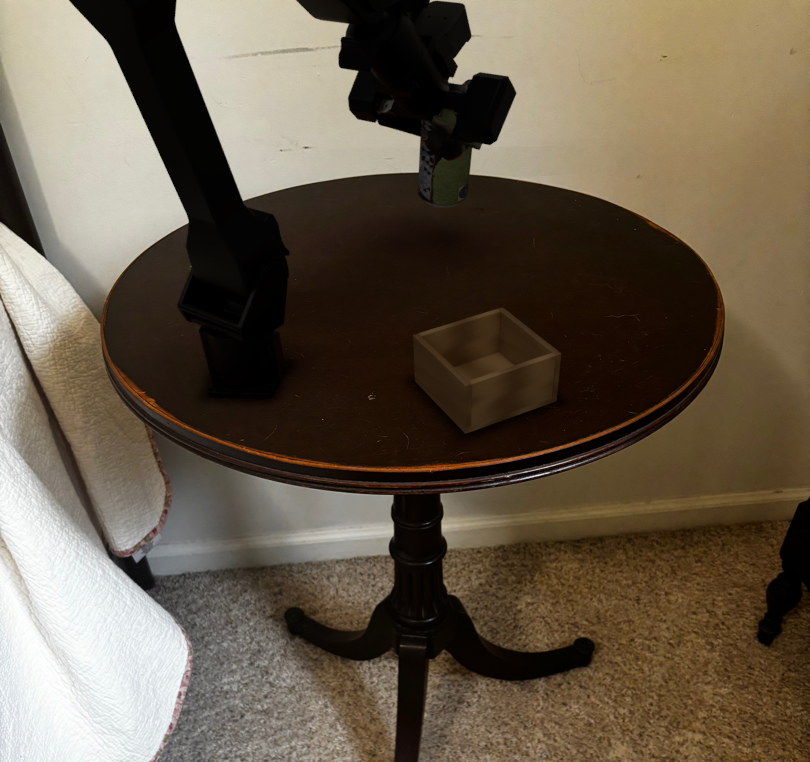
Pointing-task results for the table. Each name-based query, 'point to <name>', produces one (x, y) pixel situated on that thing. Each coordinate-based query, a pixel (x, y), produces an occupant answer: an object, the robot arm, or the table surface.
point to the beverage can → (442, 163)
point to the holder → (486, 369)
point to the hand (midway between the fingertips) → (458, 141)
